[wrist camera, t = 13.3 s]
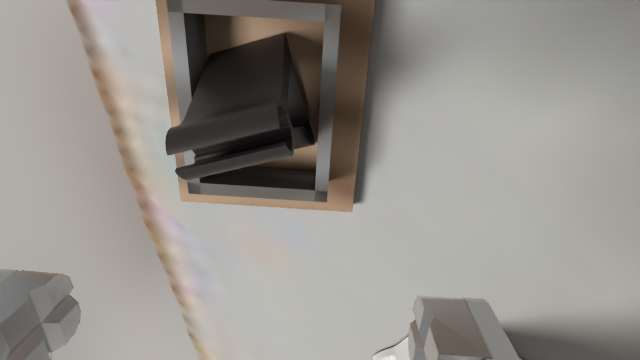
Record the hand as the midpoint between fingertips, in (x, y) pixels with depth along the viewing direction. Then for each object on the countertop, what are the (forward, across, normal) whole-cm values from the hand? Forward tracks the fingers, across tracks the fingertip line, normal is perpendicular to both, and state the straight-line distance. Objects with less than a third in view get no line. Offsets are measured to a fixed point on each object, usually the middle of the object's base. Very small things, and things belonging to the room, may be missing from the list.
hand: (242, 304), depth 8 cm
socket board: (+24, +4, 0) cm, 24 cm away
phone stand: (+22, +4, 0) cm, 22 cm away
